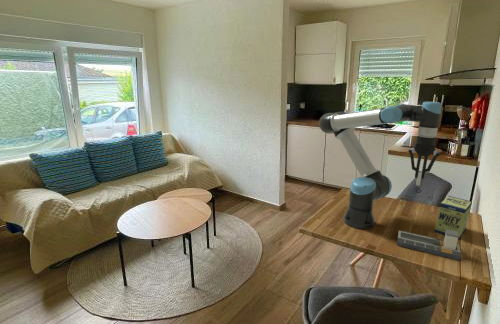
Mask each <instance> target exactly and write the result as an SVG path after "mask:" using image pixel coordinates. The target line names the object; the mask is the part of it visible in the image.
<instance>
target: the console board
mask: <svg viewBox="0 0 500 324" xmlns="http://www.w3.org/2000/svg"><path fill="white" fill-rule="evenodd" d="M396 246H398V247H402V248H407V249H411V250H414V251H419V252H422V253H427V254H431V255H435V256H439V257H443V258H448V259H451V260H455V261H459V262H460V261H461V259H462V256H461V255H462V254H461V253H462V252H461V248H460V245H459V243H458V242H457V245H456V249H455V250H453V249H449V248H445V247H444V239H440V238H436V237H431V236H427V235H424V234H423V235H422V234H417V233H414V232H409V231H405V230H404V231H403V230H400V229H399V230H398V231H397V241H396Z"/></svg>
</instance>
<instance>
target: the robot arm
mask: <svg viewBox="0 0 500 324" xmlns="http://www.w3.org/2000/svg"><path fill="white" fill-rule="evenodd" d="M441 114H442V103H441V102H438V101H424V102H422V104H421V105H415V104H414V105H413V104H406V103H405V104H403V103H401V104H397V105H391V106H390V105H389V106H385V107H380V108H379V107H378V108H373V109H366V110H360V111H353V112H346V111H337V112H328V113H324V114H323V115H322V116H321V117H320V118H319V122H318V124H319V125H318V126H319V129H320V130H321V132H323V133H325V134H328V135H329V134H333V136H334V137H335V138H336V139H337V140H340V142H341V144H342V145H343V147H344V149H345V151H346V153H347V155H348V156H349V158H350V160H351V162H352V164H353V165H354V167H355V169H356V170H357V172H358V174H359V177H356V178H354V179H353V180H352V181H351V183H350V184H351V185H350V187H349V188H350V189H349V190H350V191H349V201H348V207H347V209H346V211H345V213H344V215H343V222H344V223H345V224H346V225H347V226H350V227H353V228H355V229H359V230H362V229H363V230H367V229H368V230H369V229H372V228H373V227H375V226H374V225H375V217H374V214H373V207H374V202H375V201H377V200H379V199H383V198H385V197H386V196H388V195H389V194H390V193H391V191H392V181H391V180H390V177H388V176H386V175H384V174H382V172H381V170H379V169H377V168H375V166H374V164H373V163H372V161H371V160H370V157H369V156H368V154H367V152H366V150H365V149H364V147H363V145H362V144H361V141H360V140H359V139H358V137H357V134H356V133H355V129H356V128H360V127H368V126H375V125H376V126H378V125H385V124H386V125H388V124H391V125H392V124H396V123H403V122H414V123H415V122H416V123H419V125H418V129H417V136H416V142H415V145H414V146H413V147H412V148H409V149H408V153H409V156H410V163H411V169H412V171H415V173H414V178H415V179H416V184H415V185H416V186H421V181H422V180H424V179H425V174H426V173H429V172H430V171H431V170H432V167H433V165H434V163H435V162H436V160H437V158H438V157H439V156H440V155H441V153H440V152H439V151H437V150H436V146H435V144H436V140H437V138H436V137H437V135H438V130H439V122H440V120H441V119H440V118H441ZM415 152H416V154H417V155H418V156H417V161H416V166H415V156H414V153H415ZM431 154H433V156H432V158H431V159H430V162H429V164H427V163H428V158H429V156H431ZM422 157H423V163H422V167H421V168H422V170H420V166H421V162H422ZM427 165H428V166H427Z"/></svg>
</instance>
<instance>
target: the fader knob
mask: <svg viewBox="0 0 500 324" xmlns="http://www.w3.org/2000/svg"><path fill="white" fill-rule="evenodd" d="M458 238H459V235H458V232H457V231H453V230H448V229H446V233H445V235H444V238H443V240H444V247H445V248H449V249H453V250H455V249H456V245H457V243H458ZM459 239H460V238H459Z"/></svg>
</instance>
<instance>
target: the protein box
mask: <svg viewBox="0 0 500 324" xmlns="http://www.w3.org/2000/svg"><path fill="white" fill-rule="evenodd" d="M472 205H473V201H471V200H467V199H464V198H460V197H455V196H451V195H447V196H446V197H445V198H444V200H442V201H441V202H440V203H439V207H438V213H437V218H436V222H435V227H434V233H437V234H440V235H443V236H445V233H446V229H448V230H453V231H457V232H458V235H459V238H458V240H460V238H461V237H462V235H463V234H464V232H465V231H466V229H467V224H468V221H469V217H470V212H471V208H472ZM458 240H457V241H458Z"/></svg>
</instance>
